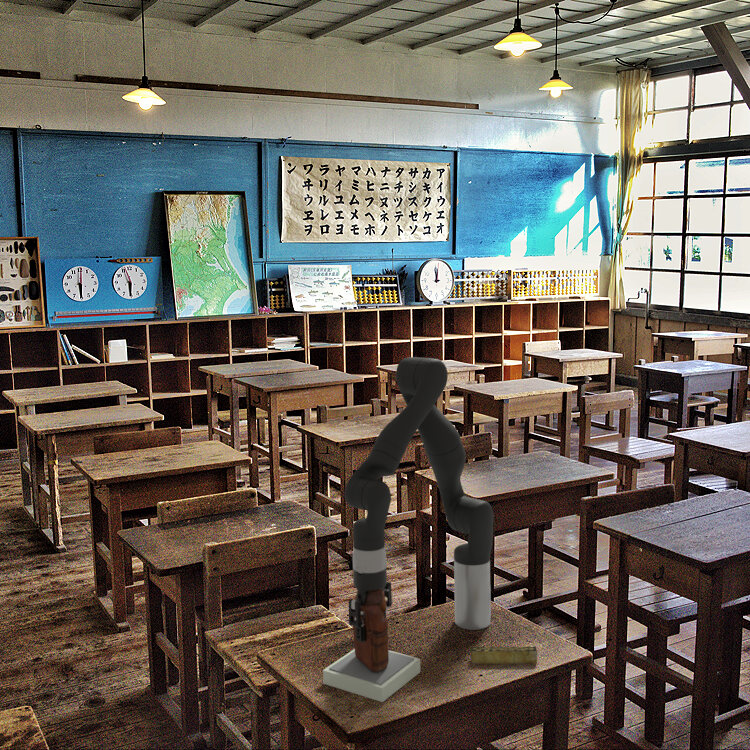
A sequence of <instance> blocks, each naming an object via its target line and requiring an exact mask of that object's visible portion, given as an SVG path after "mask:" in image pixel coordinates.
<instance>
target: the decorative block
mask: <svg viewBox="0 0 750 750" xmlns="http://www.w3.org/2000/svg"><path fill="white" fill-rule="evenodd" d="M470 659H471V664H537V663H538V650H537V647H536V646H496V647H495V646H471V647H470Z"/></svg>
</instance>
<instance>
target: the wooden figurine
mask: <svg viewBox="0 0 750 750" xmlns="http://www.w3.org/2000/svg"><path fill="white" fill-rule="evenodd" d="M357 595H358V590H357V591H356V594H355V596H354V599H356V598H357ZM354 599H353V600H354ZM386 601H387V599H386V597H384V592H383V590H382V589H380V590H376V591H369V593H368V595H367V599H366V604H365V605H366V606H364V605H362V608H361V611H362V612H364V613H365V615H366V625H365V626H366V641H365V642H364V643H363V642H359V641H357V639H356V627H355V626H352V633H353V645H354V646H353V647H354V649H355V655H356V658H357V659H358V660H360V661H361V662H362V663H363V664H364V665H365V666H367V667H368V668H369V669H370V670H371V671H375V672H377V671H381V670H382V669H384V668H386V666H387V665H388V661H389V654H388V653H389V651H388V650H389V626H388V625H389V620H388V618H387V617H386V618H385V617H384V612H386V609H387V607H386ZM386 613H387V612H386ZM362 619H363V616H361V621H362ZM354 620H355V617H354Z"/></svg>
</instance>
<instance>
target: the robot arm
mask: <svg viewBox="0 0 750 750" xmlns="http://www.w3.org/2000/svg"><path fill="white" fill-rule="evenodd" d="M395 370H396V371H395V372H396V373H395V379H396V384H397V386H398V390H399V392H400V394H401V396H402V399H403V400H404V402H405V404H406V406H405V407H404V409H402V410H401V412H399V413H398V414H397V415H396V416H394V418H393V419H392V420H390V421H389V422H388V423H387V425H385V426H384V428H383V429H382V430H381V431H380V433H379V434H378V436H377V438H376V440H375V442H374V443H373V446H372V448H371V451H370V452H369V455H368V457H367V458H366V459H364V461H363V462H362V463H361V464H360V465H359V466H358V468H357V469H356V470H355V471H354V472H353V474H351V476H350V478H349V479H348V480H347V482H346V485H345V489H344V499H345V502H346V504H347V505H348V506H349V507H351V508H354V509H359V510H363V511H366V513H367V515H366V517H364V518H359V519H357V520H356V521H355V522H354V523H353V527H352V541H353V545H352V546H353V551H352V575H353V576H352V579H353V580H352V581H353V587H354V588H355V589H356V590H357V591H358V595H357V594H356V595H357V598H356V599H352V598H350V599H349V600H348V625H349V626H352V627H353V626H355V627H356V639H357V641H359V642H363V643H364V642H365V641H366V626H365V625H366V615H365V613H364V612H362V611H361V608H362V605H364V606H366V605H365V604H366V599H367V595H368V593H369V591H376V590H380V589H382V590H383V592H384V597H385V598H386V607H387V609H386V612H384V617H385V618H387V613H388V611H389V608H391V607H392V605H393V597H392V596H393V594H392V582H391V581H387V580H388V578H387V573H388V572H387V553H386V547H385V542H386V540H385V538H386V537H385V527H386V523H387V520H388V519H387V518H388V513H389V511H390V510H389V509H390V506H391V501H392V493H391V490H390V487H389V486H388V484H387V483H386V482H385V481H382V480H379V479H380V478H383V477H388V476H393V475H394V474H395V473H396V472H397V469H398V468H399V465H400V463H401V461H402V459H403V457H404V455H405V452H406V450H407V448H408V446H409V444H410V442H411V441H412V438H413V437H414V435H415V434H416V433H417V431H418V433H419V436H420V439H421V441H422V445H423V448H424V451H425V453H426V456H427V460H428V461H429V464H430V466H431V470H432V471H433V475H434V477H435V482H436V484H437V487H438V490H439V493H440V498H441V502H442V505H443V511H444V515H445V518H446V521H447V523H448V525H449V527H450V528H451V529H452V530H454V531H456V532H459V533H462V534H466V535H468V542H466V543H462V544H460V545H457V546H456V547H455V548H454V550H453V564H454V565H453V568H454V569H453V576H454V579H453V580H454V581H453V582H454V583H453V585H454V586H453V587H454V624H455V625H456V626H457V627H459V628H461V629H464V630H468V631H474V630H475V631H476V630H483V629H486V628H488V627H489V626H490V625H491V619H492V617H491V615H492V614H491V612H492V611H491V609H492V605H491V602H492V601H491V600H492V599H491V595H492V594H491V591H492V588H491V587H492V586H491V560H490V559H491V552H492V549H493V541H494V540H493V537H494V536H493V534H494V511H493V507H492V505H491V504H490V503H489V502H488V501H486V500H482V499H478V498H473V497H468V495H466V493H465V491H464V488H463V485H462V482H461V477H462V474H463V471H464V468H465V464H466V461H467V454H466V450H465V447H464V444H463V442H462V439H461V435H460V433H459V431H458V429H457V428H456V427H455V426H454V425H453V423H452V422H451V421H450V420H449V419H448V418H447V417H446V415H444V414H443V413H442V411H441V410H440V409H439V408H438V407H437V406H436V405H435V404H436V403H437V401H438V400H439V399H440V397H441V396H442V394H443V393H444V390H445V389H446V386H447V383H448V377H449V375H448V369H447V366H446V364H445V363H444V362H443V361H442V360H441V359H438V358H432V357H417V356H410V357H405V358H402V359H401V360H400V361H399V362H398V365H397V368H396V369H395ZM361 616H363V619H362V621H361ZM354 617H355V620H354Z"/></svg>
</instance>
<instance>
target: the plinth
mask: <svg viewBox="0 0 750 750" xmlns="http://www.w3.org/2000/svg"><path fill="white" fill-rule="evenodd" d="M388 651H389V653H388V654H389V661H388V665H387V666H386V668H384V669H382V670H381V671H377V672H375V671H371V670H370V669H369V668H368V667H367V666H365V665H364V664H363V663H362V662H361V661H360V660H358V659H357V658H356V655H355V648H353V649H352V650H351V651H349V652H348V653H346V654H345V655H343V656H342V657H340V658H339V659H337V660H336V661H335V662H333V663H331V664H330V665H329V666H327V667H326V668H324V669H323V670H322V680H323V681H322V682H323V683H322V684H323V685H326V686H330V687H333V688H336V689H339V690H343V691H345V692H348V693H352V694H356V695H359V696H362V697H365V698H368V699H370V700H374V701H378V702H381V703H383V702H385V701H386V700H387V699H389V698H390V697H391V696H392V695H394V694H395V693H396V692H397V691H399V690H400V689H401V688H402V687H403V686H405V685H406V684H407V683H408V682H410V681H411V680H412V679H414V678H415V677H416V676H418V674H420V673H421V659H420V658H418V657H415V656H411V655H408V654H404V653H401V652H396V651H393V650H389V649H388Z"/></svg>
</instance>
